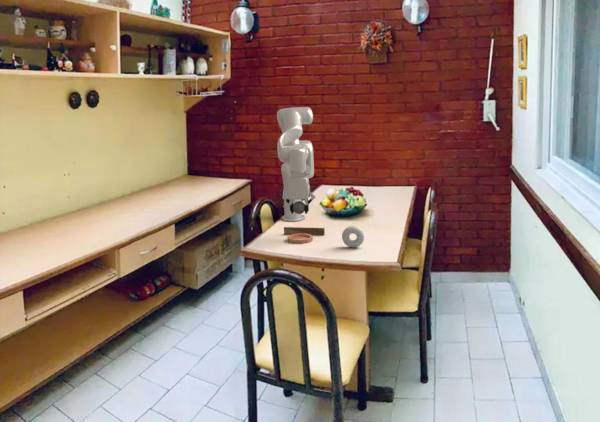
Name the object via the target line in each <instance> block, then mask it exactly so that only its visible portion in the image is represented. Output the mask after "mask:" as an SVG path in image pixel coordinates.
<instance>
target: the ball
mask: <svg viewBox="0 0 600 422" xmlns="http://www.w3.org/2000/svg"><path fill="white" fill-rule="evenodd" d="M293 210H294V212H295V213H297V214H302V215H303V214H304V213H305V202H303V201H302V202H301V201H297V202H295V203H294V205H293Z"/></svg>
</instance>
